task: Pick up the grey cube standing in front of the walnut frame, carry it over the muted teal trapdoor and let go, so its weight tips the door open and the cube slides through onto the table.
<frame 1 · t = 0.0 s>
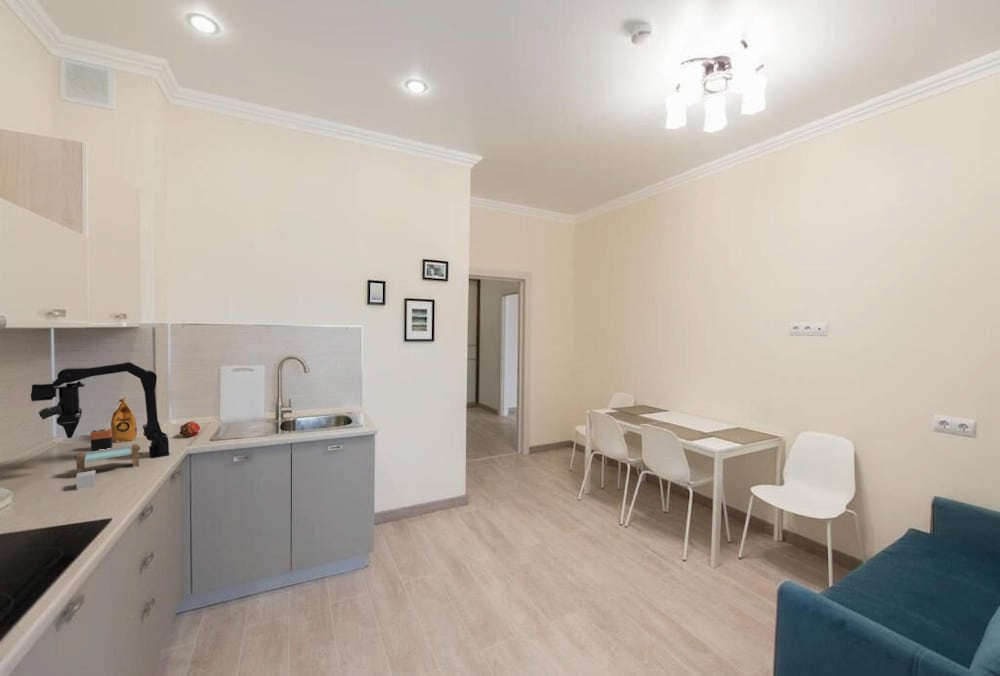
hand: (70, 435, 171), 15 cm above the countertop, tool pointing down, fingers open, 9 cm apart
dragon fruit: (190, 436, 221), on the countertop
trapdoor: (108, 455, 172), point 6 cm above the countertop, hinge at 0.0°
battery: (102, 449, 198), on the countertop
trapdoor frame: (109, 468, 173), on the countertop
grey cube: (86, 486, 156), on the countertop
coffee package: (124, 439, 213), on the countertop
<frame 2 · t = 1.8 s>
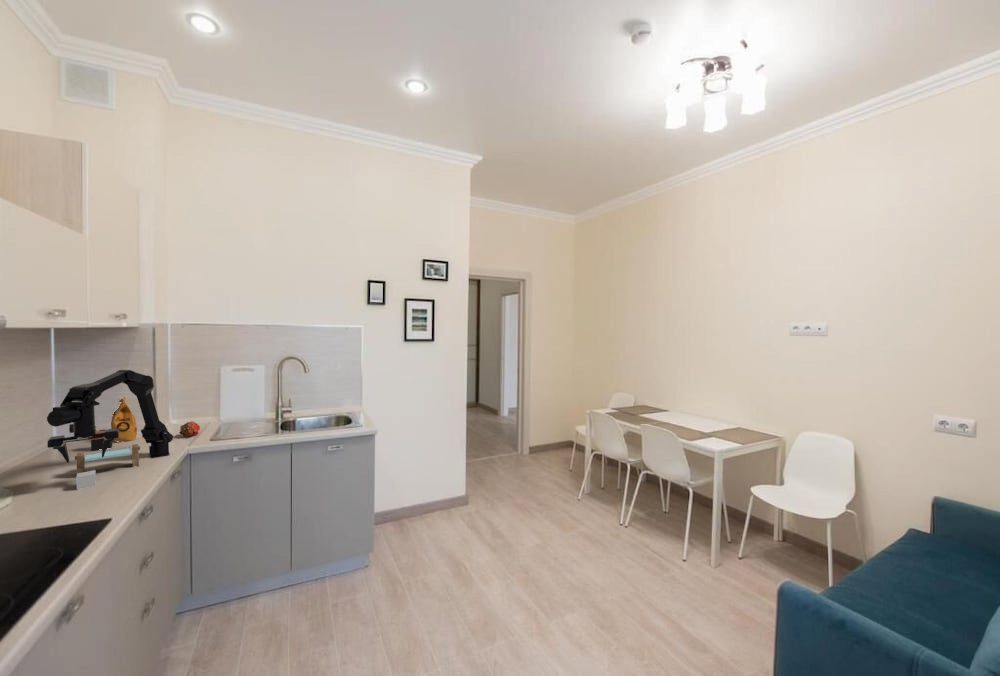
hand: (85, 459, 156), 10 cm above the countertop, tool pointing down, fingers open, 9 cm apart
nothing on the countertop moved.
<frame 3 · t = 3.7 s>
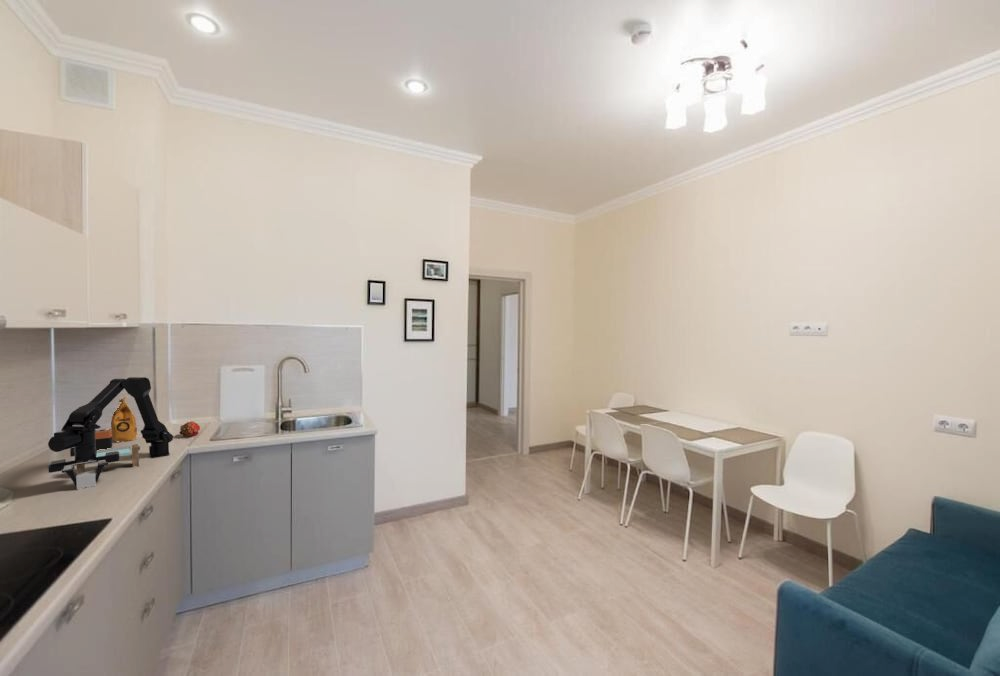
hand: (86, 483, 156), 1 cm above the countertop, tool pointing down, fingers closed on grey cube, 5 cm apart
grey cube: (86, 486, 156), on the countertop, touching gripper
everything else where it was.
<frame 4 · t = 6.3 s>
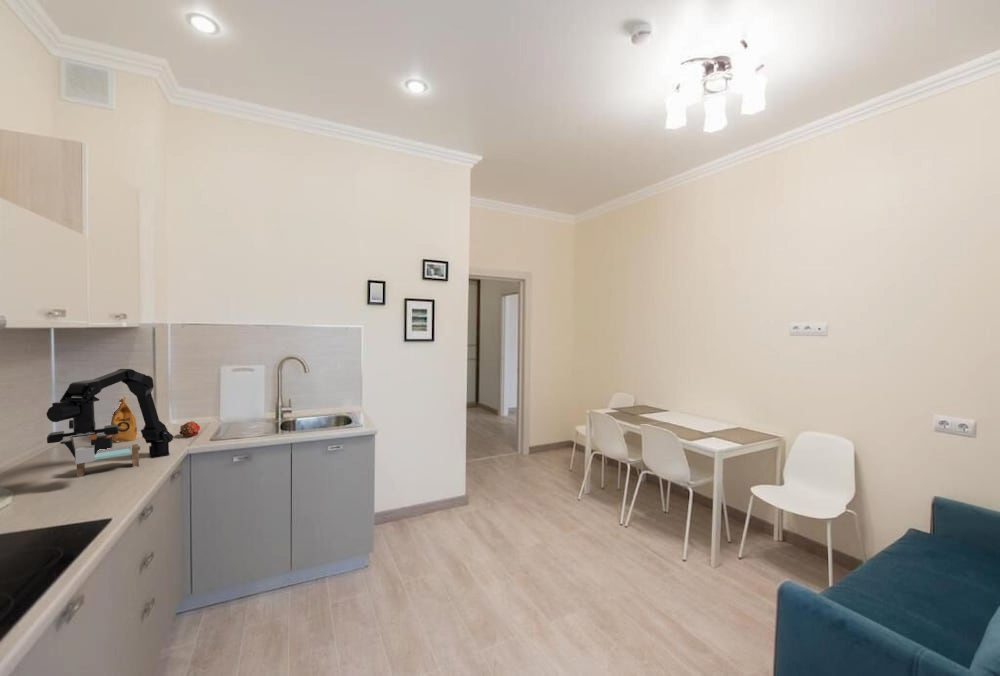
hand: (85, 455, 155), 12 cm above the countertop, tool pointing down, fingers closed on grey cube, 5 cm apart
grey cube: (85, 460, 156), point 10 cm above the countertop, touching gripper
everything else where it was.
when the fingers open (12 cm above the countertop, at t = 8.8 s): grey cube drops 3 cm, resting on trapdoor.
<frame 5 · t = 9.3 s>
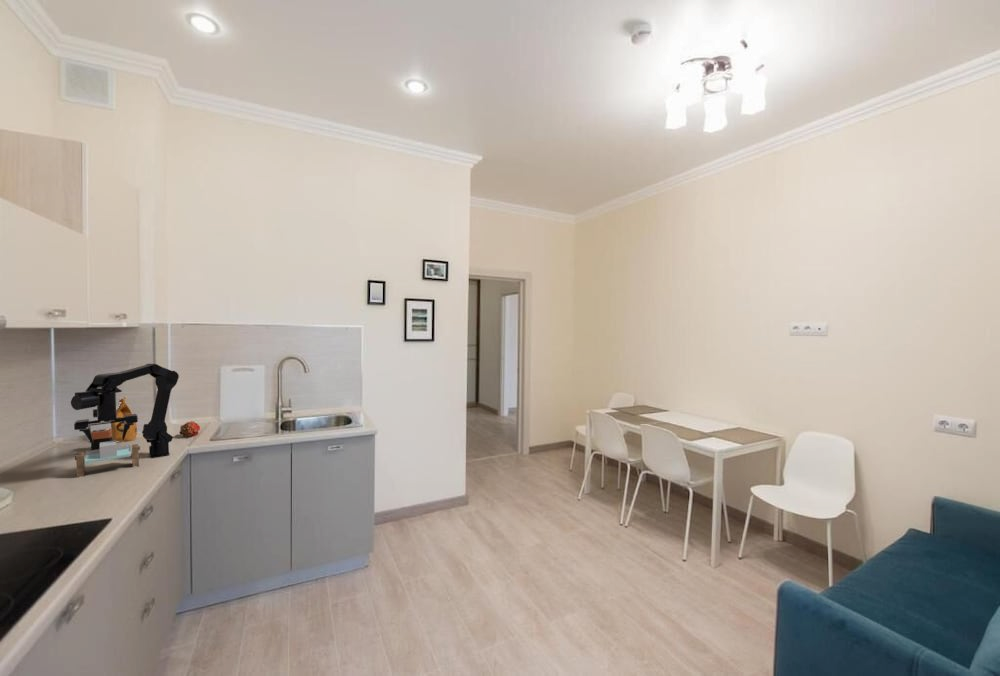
hand: (108, 441, 170), 12 cm above the countertop, tool pointing down, fingers open, 9 cm apart
trapdoor: (108, 455, 172), point 6 cm above the countertop, hinge at -7.6°, touching grey cube
grey cube: (108, 454, 170), point 7 cm above the countertop, tilted 8°, touching trapdoor
everything else where it was.
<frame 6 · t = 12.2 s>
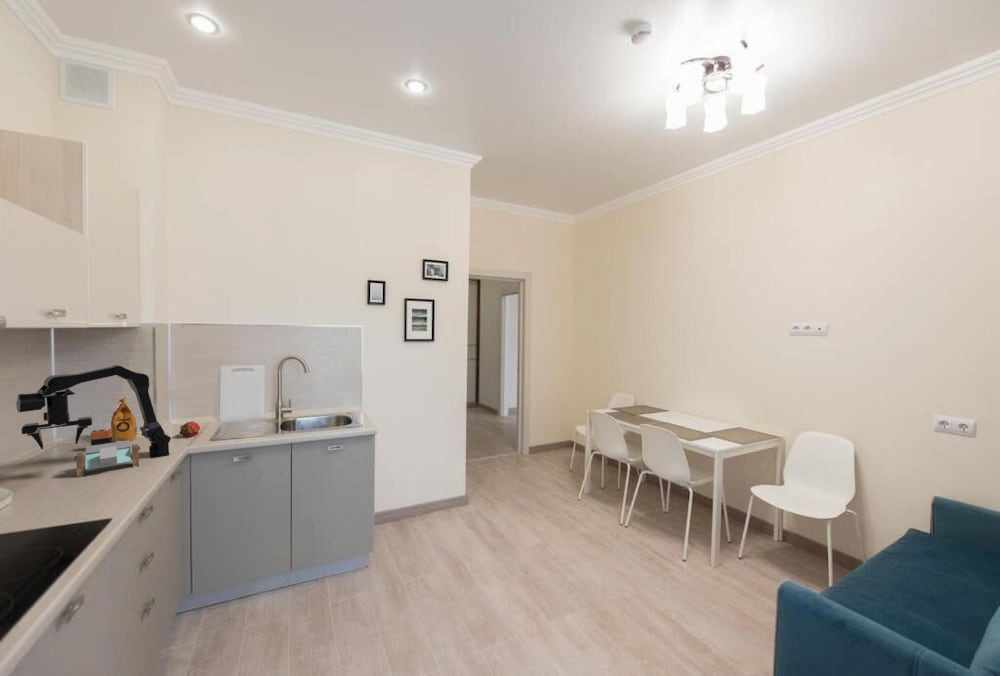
hand: (59, 446, 162), 13 cm above the countertop, tool pointing down, fingers open, 9 cm apart
trapdoor: (108, 455, 173), point 6 cm above the countertop, hinge at -42.1°, touching grey cube
grey cube: (108, 459, 171), point 5 cm above the countertop, tilted 42°, touching trapdoor
everything else where it was.
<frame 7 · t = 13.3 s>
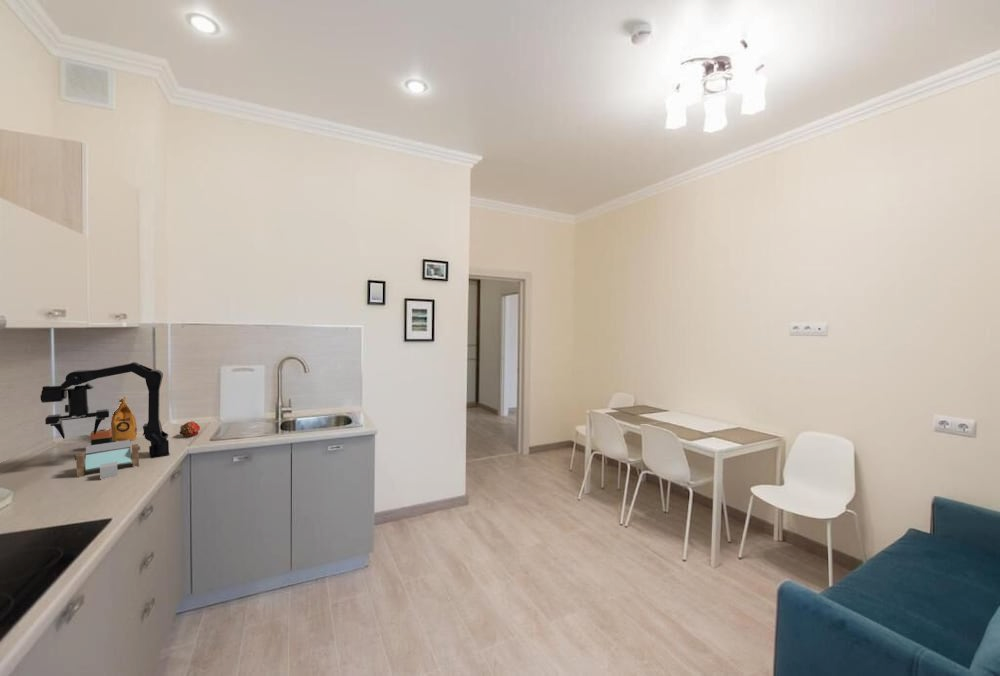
hand: (79, 436, 175), 13 cm above the countertop, tool pointing down, fingers open, 9 cm apart
trapdoor: (108, 455, 173), point 6 cm above the countertop, hinge at -46.6°
grey cube: (108, 464, 165), point 5 cm above the countertop, tilted 180°
everything else where it was.
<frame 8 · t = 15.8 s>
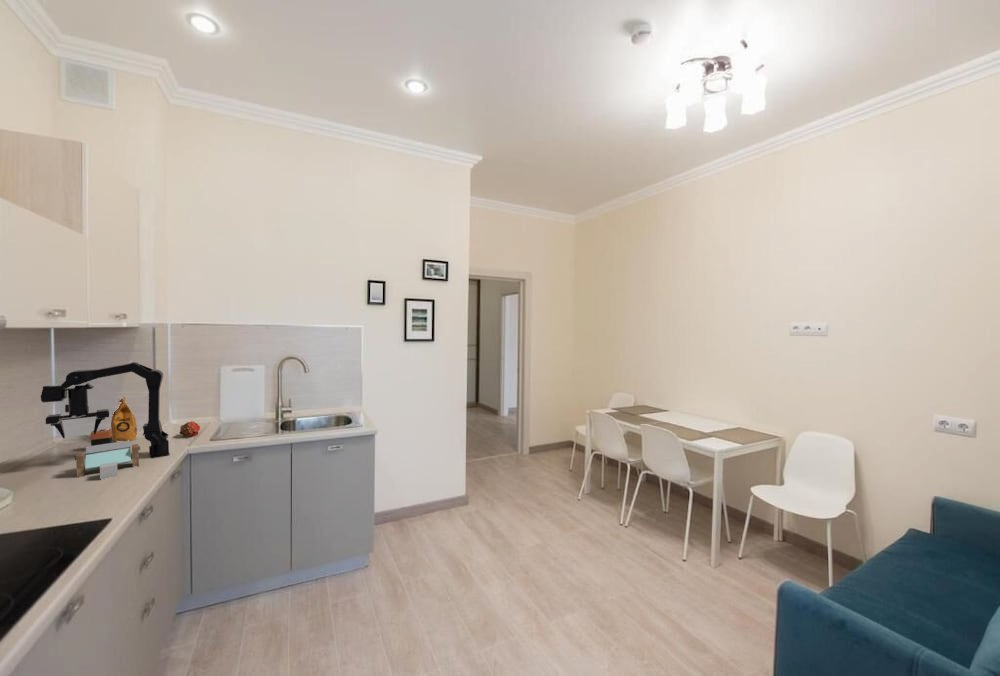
hand: (79, 436, 175), 13 cm above the countertop, tool pointing down, fingers open, 9 cm apart
trapdoor: (108, 455, 173), point 6 cm above the countertop, hinge at -40.4°
everything else where it was.
at the end: grey cube inside the target area (5.2 cm from its centre), point 4.9 cm above the countertop; grey cube moved 10.4 cm from its start; the gripper is holding nothing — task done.
